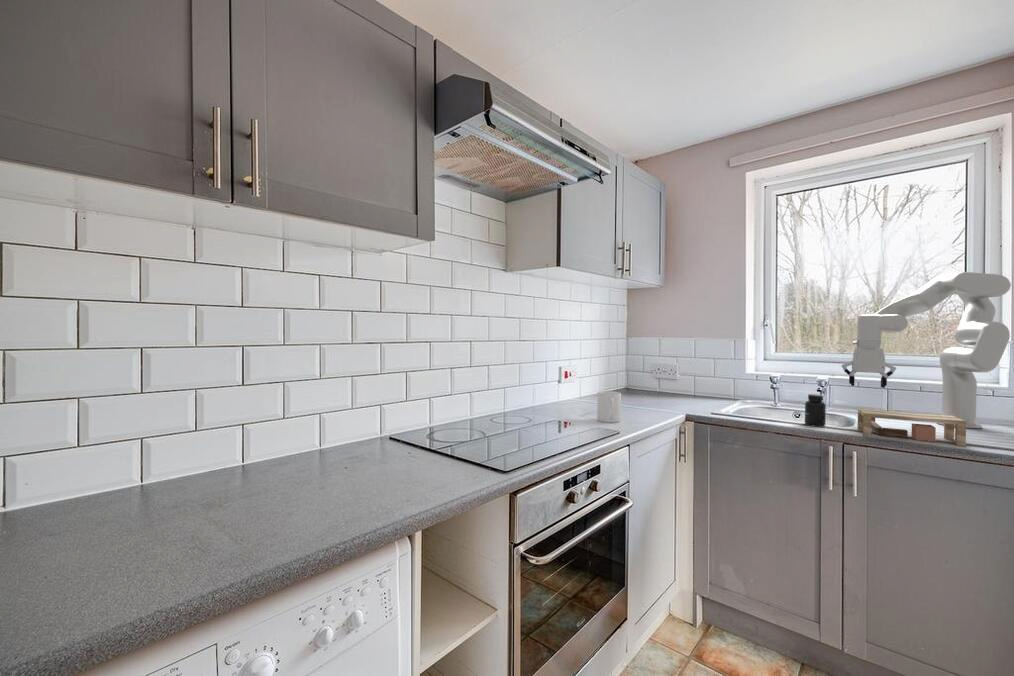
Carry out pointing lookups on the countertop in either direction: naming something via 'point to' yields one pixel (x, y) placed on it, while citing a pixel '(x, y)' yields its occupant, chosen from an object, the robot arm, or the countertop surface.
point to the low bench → (948, 420)
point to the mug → (609, 406)
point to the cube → (923, 432)
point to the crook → (886, 429)
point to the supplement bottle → (815, 410)
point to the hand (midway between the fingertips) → (867, 386)
